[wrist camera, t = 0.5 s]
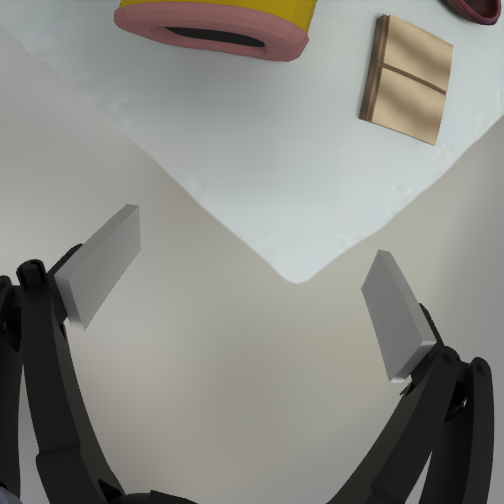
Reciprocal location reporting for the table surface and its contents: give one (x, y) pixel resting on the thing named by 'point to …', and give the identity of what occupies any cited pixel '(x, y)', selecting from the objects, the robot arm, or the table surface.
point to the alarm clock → (223, 25)
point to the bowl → (478, 10)
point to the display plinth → (407, 79)
